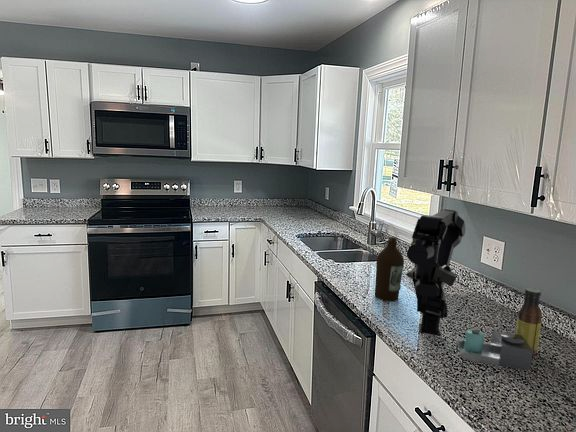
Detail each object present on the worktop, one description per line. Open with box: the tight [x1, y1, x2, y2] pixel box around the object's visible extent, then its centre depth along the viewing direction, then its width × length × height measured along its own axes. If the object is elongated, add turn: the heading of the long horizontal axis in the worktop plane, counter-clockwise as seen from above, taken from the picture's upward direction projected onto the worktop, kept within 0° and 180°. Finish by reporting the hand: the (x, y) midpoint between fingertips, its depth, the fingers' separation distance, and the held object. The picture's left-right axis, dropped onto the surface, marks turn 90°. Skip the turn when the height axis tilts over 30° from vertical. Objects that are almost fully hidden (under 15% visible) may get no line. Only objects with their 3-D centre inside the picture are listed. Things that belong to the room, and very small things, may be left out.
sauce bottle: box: [515, 287, 543, 356], centre depth 121 cm, size 7×6×20 cm
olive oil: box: [374, 236, 405, 302], centre depth 161 cm, size 11×11×25 cm
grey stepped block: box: [456, 330, 533, 371], centre depth 118 cm, size 10×18×7 cm, turn 77°
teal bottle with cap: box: [464, 328, 486, 354], centre depth 119 cm, size 5×5×7 cm
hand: (421, 307), depth 121 cm, fingers open, 9 cm apart
